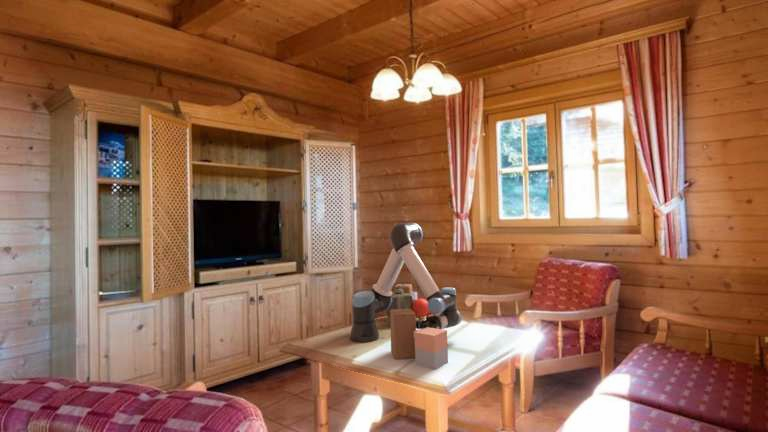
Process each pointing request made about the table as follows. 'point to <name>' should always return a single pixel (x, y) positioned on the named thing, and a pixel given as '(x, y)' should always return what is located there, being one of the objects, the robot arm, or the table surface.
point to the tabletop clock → (399, 300)
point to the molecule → (421, 309)
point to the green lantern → (405, 288)
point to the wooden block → (402, 333)
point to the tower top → (431, 339)
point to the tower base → (431, 358)
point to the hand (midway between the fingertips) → (403, 331)
